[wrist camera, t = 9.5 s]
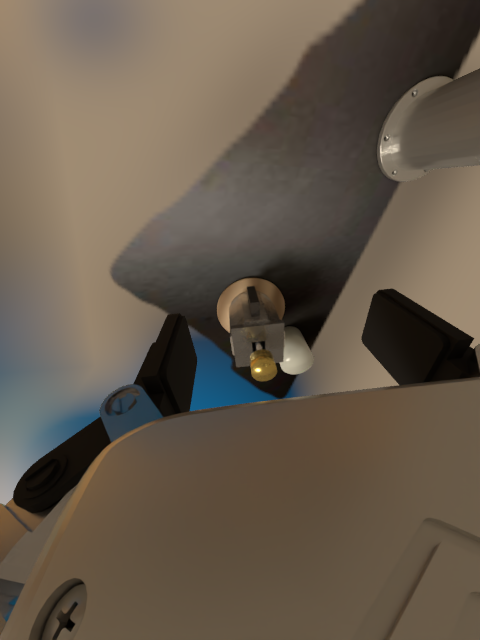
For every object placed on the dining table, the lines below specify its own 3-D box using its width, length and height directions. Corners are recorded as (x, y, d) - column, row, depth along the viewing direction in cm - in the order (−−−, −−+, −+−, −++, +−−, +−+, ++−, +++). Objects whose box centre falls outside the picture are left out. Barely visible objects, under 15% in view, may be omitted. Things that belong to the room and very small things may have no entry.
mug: (302, 324, 53) (315, 347, 46) (300, 352, 58) (311, 376, 51) (272, 328, 53) (280, 351, 46) (273, 355, 58) (280, 380, 51)
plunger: (268, 297, 46) (289, 351, 31) (268, 326, 50) (287, 385, 35) (233, 301, 46) (238, 357, 31) (237, 329, 50) (242, 390, 35)
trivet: (285, 273, 45) (285, 274, 45) (283, 332, 54) (284, 334, 54) (211, 281, 45) (211, 283, 45) (222, 339, 54) (222, 341, 54)
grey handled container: (272, 276, 45) (288, 306, 34) (273, 326, 52) (286, 363, 41) (224, 282, 45) (224, 313, 34) (231, 331, 52) (233, 369, 41)
